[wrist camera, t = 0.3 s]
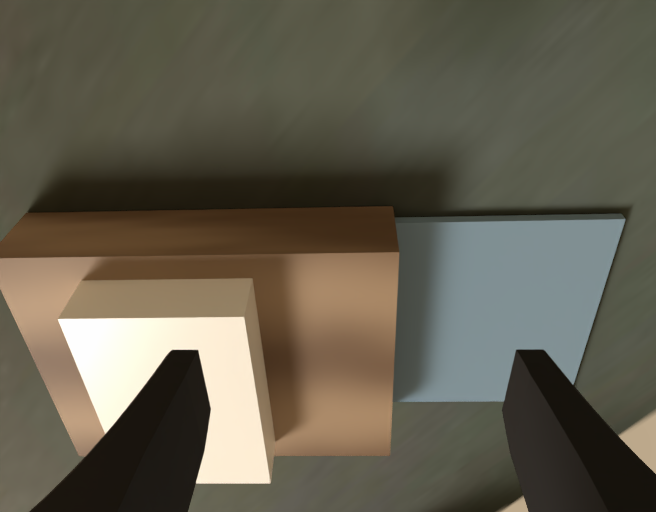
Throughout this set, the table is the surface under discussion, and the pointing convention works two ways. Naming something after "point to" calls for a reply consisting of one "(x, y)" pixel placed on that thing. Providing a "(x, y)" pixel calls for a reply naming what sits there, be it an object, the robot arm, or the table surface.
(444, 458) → the table surface
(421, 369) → the mat
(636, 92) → the table surface
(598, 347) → the table surface
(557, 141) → the table surface
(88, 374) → the cream rectangular block
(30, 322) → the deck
